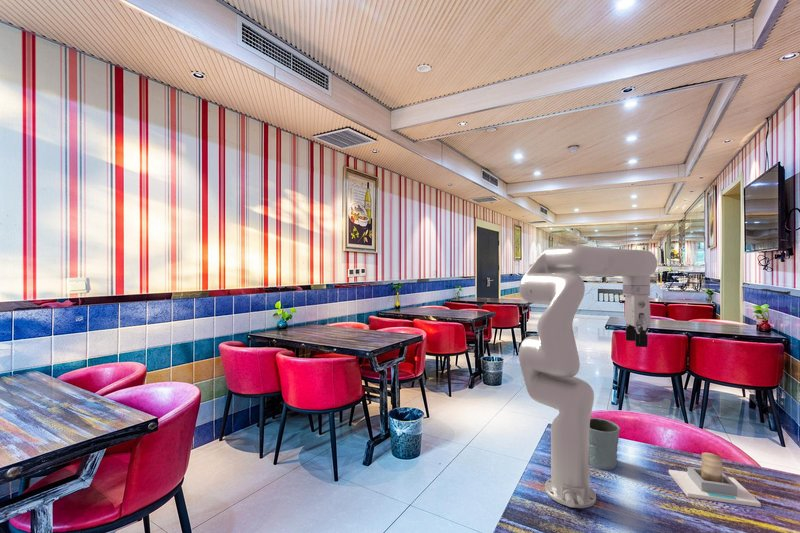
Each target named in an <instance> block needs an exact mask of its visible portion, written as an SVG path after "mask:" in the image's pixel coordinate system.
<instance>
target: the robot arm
mask: <svg viewBox="0 0 800 533" xmlns="http://www.w3.org/2000/svg"><path fill="white" fill-rule="evenodd" d="M657 268H658V259H657V256H656V255H655V254H654V253H653V252H652V251H651V250H644V249H643V250H642V249H629V248H628V249H627V248H614V247H601V246H600V247H599V246H588V245H587V246H586V245H562V246H561V245H560V246H558V245H556V246H549V247H547V248H546V249H544V250H543V251H542V252H541V253H540V254H539V255H537V257H536V259H535V260H534V261H533V263H532V264H531V265H530V267H529V268H528V269H527V270H526V272H525V273H524V275H523V276H522V278H521V279H520V283H519V294H520V297H521V298H522V299H523V300H524V301H525V302H528V303H530V304H536V305H537V304H538V305H545V306H546V305H547V307H546V308H545V310H544V312H542V314H541V316H540V317H539V319H538V321H537V327H536V328H537V334H538V335H531V336H527V337H525V338H524V339H523V340H522V342H521V343H520V346H519V349H518V360H519V361H518V362H519V365H520V366H519V367H520V370H521V373H522V377H523V380H524V384H525V388H526V391H527V393H528V395H529V397H530V398H531V399H532V400H534V401H535V402H537V403H538V404H542V405H544V406H547V407H550V408H552V409H555V410H558V412H559V413H558V414H557V416H556V417H555V418H554V419H553V420H552V422H551V426H550V478H548V479H547V480H545V483H544V491H545V493H546V494H547V495H548V497H549V498H550V499H552V500H553V501H555V502H557V503H558V504H561V505H563V506H566V507H569V508H575V509H586V508H590V507H592V506H594V505H595V504H596V502H597V495H596V492H595V490H594V489H593V488H592V487H591V484H590V483H591V482H590V481H591V479H590V478H591V477H590V476H591V475H590V474H591V473H590V472H591V471H590V470H591V469H590V466H591V465H590V418H592V412H593V411H592V410H593V406H594V401H595V393H594V389H593V387H592V386H591V385H590V384H589V383H588V382H587V381H585V380H583V379H581V378H578V377H577V376H576V375H577V374H578V373H579V372H580V371H579V370H580V369H581V368H580V366H581V364H580V356H579V352H578V348H577V347H578V346H577V343H576V339H575V334H574V329H573V324H574V323H573V322H574V319H575V316H576V313H577V311H578V309H579V306H580V305H581V303H582V301H583V299H584V295H585V291H586V290H585V289H586V288H585V287H586V286H585V282H584V280H583V279H582V278H581V277H593V278H594V277H596V278H597V277H598V278H600V277H602V278H603V277H606V278H610V277H611V278H612V277H622V296H625V300H624V321H625V323H626V324H625V340H626V341H629V342H634V344H635V347H637V348H647V347H648V341H649V340H648V338H649V337H648V334H649V333H648V331H649V328H650V327H651V326H652V324H651V323H652V322H651V321H652V320H651V318H652V317H651V304H650V296H651V275H653V274H654V273H655V272H656V271H657ZM575 376H576V377H575Z"/></svg>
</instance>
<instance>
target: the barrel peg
mask: <svg viewBox="0 0 800 533" xmlns="http://www.w3.org/2000/svg"><path fill="white" fill-rule="evenodd" d="M700 468H701V478H702V479H703V480H704V481H712V482H720V483H722V472H723V458H722V457H721V456H719V455H717V454H715V453H710V452H702V453H701V466H700Z"/></svg>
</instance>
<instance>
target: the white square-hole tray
mask: <svg viewBox="0 0 800 533" xmlns="http://www.w3.org/2000/svg"><path fill="white" fill-rule="evenodd" d="M668 474H669V476H670V477H671V478H672V479H673V480H674V482H675V483H676V484H677V486H679V488H680V490H681V491H683V493H684V494H685V495H686V497H687V498H692V499H699V500H707V501H715V502H723V503H727V504H735V505H741V506H742V505H743V506H749V507H757V508H762V503H761V502H760V501H759V500H758V499H757V498H755V496H754V495H753V494H752V493H750V492H749V491H748V490H747V489H746V488H745V487H744V486H743V485H742V484H741V483H739V482H740V481H737V479H735V478H734V477H733V476H732V477H731V476H727V475H726V474H725V472H723V471H722V483H720V482H712V481H704V480H703V479H702V478H701V467H694V466H687V471H684V470H676V469H675V470H674V469H668Z"/></svg>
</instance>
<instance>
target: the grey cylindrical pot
mask: <svg viewBox="0 0 800 533" xmlns="http://www.w3.org/2000/svg"><path fill="white" fill-rule="evenodd" d="M619 437H620V426H619V425H618V424H617V423H615V422H614V421H611V420H608V419H603V418H598V417H591V418H590V466H592V467H593V468H596V469H600V470H605V471H606V470H607V471H608V470H614V469H616V467H617V461H618V454H617V453H618V445H619V440H620V439H619Z"/></svg>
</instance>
